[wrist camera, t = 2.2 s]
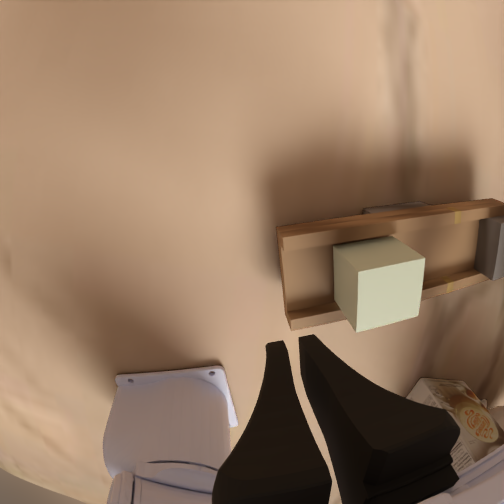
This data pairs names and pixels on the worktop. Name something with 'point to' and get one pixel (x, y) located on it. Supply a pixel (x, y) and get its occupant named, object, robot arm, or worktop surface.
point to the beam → (405, 230)
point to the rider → (377, 282)
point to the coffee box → (462, 418)
